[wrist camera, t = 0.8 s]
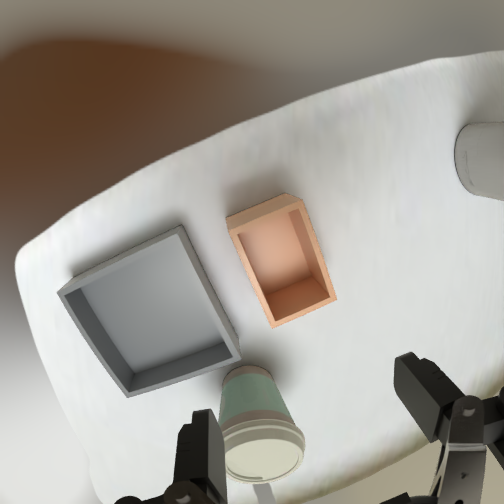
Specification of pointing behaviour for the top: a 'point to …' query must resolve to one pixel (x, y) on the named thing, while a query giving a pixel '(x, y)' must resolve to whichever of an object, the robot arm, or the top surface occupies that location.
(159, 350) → the big crate
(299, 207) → the small crate
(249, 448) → the coffee cup
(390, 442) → the top surface
